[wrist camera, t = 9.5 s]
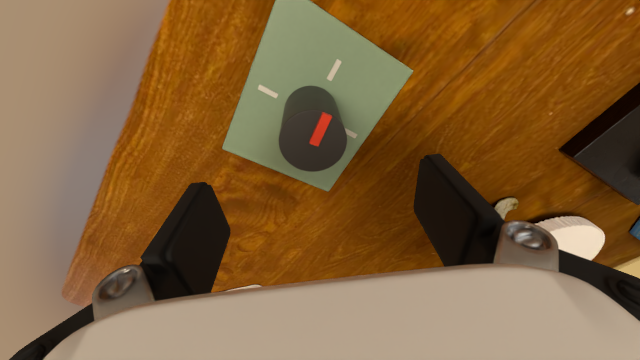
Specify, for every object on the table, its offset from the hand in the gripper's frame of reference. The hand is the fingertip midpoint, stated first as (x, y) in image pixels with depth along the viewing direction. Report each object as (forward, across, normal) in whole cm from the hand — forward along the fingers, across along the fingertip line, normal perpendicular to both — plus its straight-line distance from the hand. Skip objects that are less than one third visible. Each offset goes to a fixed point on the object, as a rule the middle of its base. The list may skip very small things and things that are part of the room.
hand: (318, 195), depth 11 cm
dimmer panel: (+12, 0, -1) cm, 12 cm away
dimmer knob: (+9, 0, -1) cm, 9 cm away
